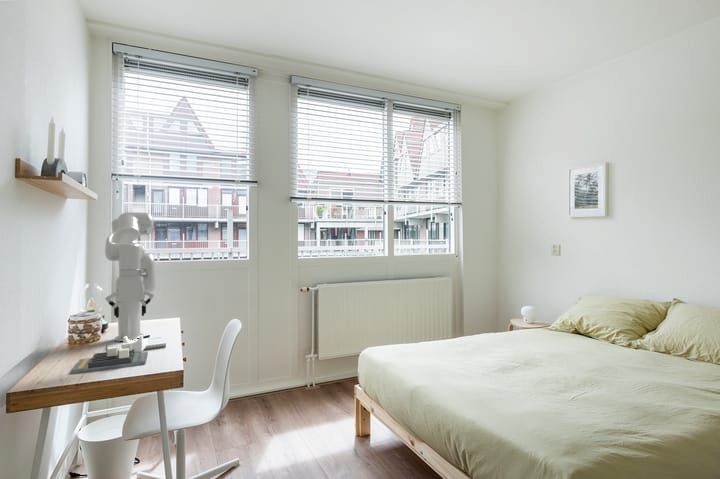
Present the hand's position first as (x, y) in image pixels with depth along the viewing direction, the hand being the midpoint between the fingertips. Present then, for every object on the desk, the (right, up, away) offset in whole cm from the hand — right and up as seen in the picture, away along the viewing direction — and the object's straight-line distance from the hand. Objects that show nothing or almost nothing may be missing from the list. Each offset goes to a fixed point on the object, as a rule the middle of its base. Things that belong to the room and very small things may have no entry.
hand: (130, 316), depth 160 cm
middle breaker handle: (-6, -17, -3) cm, 18 cm away
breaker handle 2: (0, -17, -5) cm, 18 cm away
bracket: (-7, -19, +16) cm, 26 cm away
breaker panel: (-6, -18, -3) cm, 19 cm away
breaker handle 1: (-4, -17, +4) cm, 18 cm away
